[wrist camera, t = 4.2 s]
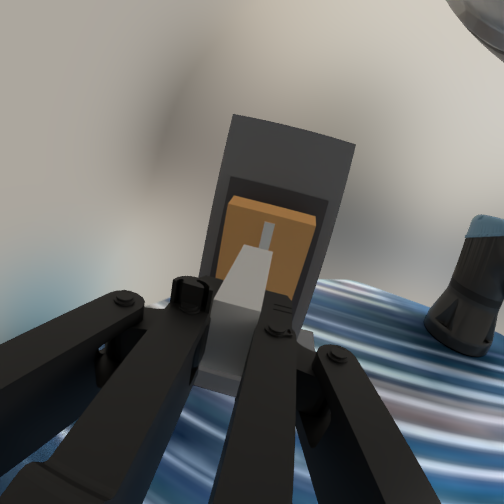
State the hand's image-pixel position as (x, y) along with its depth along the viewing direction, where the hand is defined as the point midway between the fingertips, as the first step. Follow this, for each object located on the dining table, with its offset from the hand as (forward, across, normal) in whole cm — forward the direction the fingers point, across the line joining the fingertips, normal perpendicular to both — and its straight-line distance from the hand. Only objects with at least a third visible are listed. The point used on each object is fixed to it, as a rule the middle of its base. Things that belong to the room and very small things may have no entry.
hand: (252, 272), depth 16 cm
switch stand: (+12, 0, -14) cm, 19 cm away
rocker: (+8, 0, -7) cm, 11 cm away
